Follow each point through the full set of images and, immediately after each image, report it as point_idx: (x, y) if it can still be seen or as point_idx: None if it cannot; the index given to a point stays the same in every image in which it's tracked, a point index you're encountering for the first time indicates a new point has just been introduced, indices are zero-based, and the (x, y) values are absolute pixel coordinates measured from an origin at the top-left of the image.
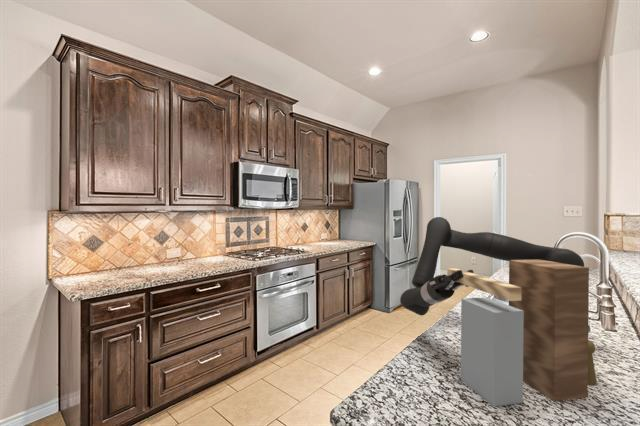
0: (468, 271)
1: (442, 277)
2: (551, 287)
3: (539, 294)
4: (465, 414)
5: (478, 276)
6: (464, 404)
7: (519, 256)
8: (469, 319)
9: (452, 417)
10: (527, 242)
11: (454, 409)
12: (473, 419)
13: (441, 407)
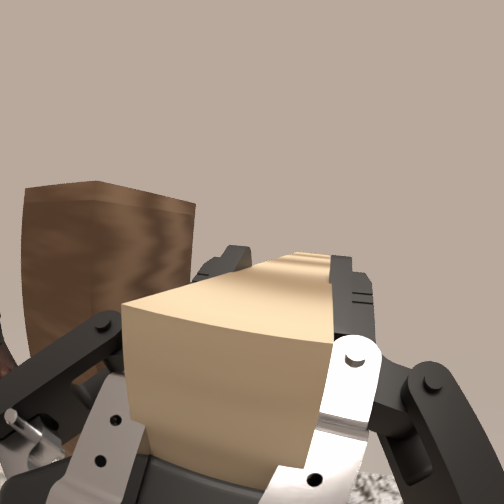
0: (242, 265)
1: (434, 422)
2: (187, 250)
3: (169, 280)
4: (369, 482)
5: (302, 262)
6: (353, 499)
7: None
8: None
9: (393, 480)
10: None
11: (379, 492)
12: (364, 473)
13: (398, 498)
